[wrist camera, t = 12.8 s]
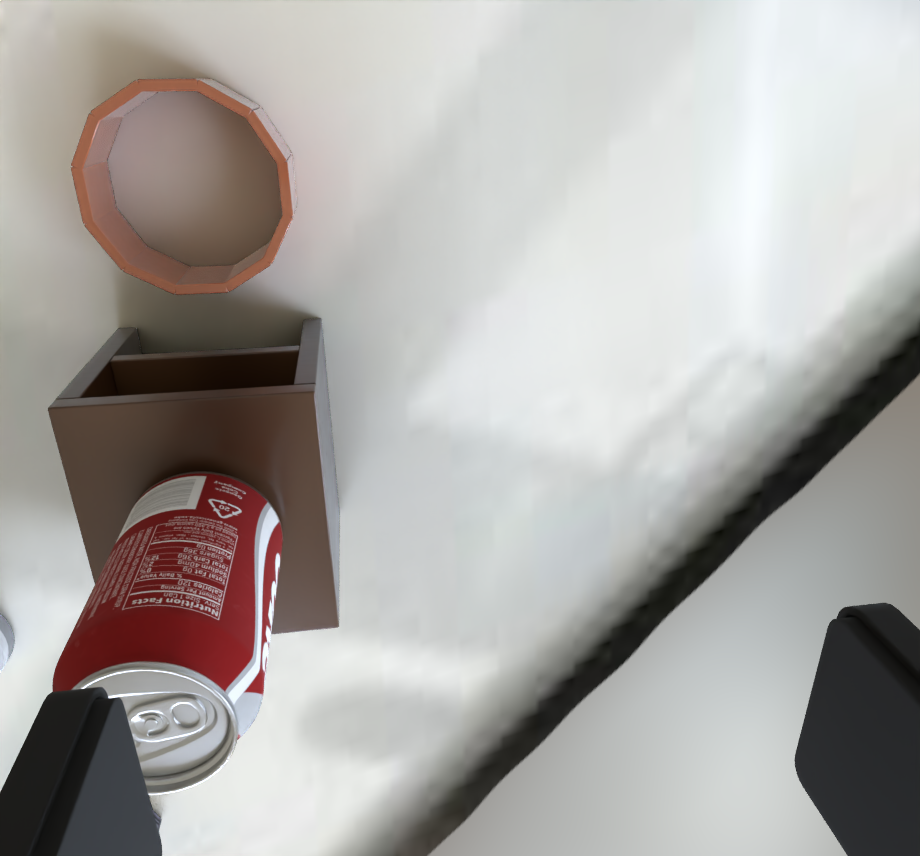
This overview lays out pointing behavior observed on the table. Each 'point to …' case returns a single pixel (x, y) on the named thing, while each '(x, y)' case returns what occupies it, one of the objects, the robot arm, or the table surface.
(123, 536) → the soda can
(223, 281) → the can holder
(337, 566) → the desk shelf
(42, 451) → the table surface
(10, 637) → the travel mug
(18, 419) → the table surface
